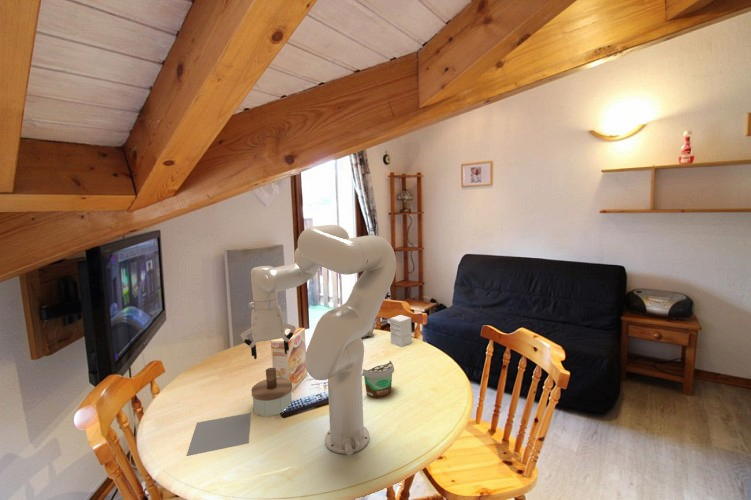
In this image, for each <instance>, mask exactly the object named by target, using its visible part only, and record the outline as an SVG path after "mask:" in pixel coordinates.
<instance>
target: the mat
mask: <svg viewBox="0 0 751 500" xmlns="http://www.w3.org/2000/svg"><path fill="white" fill-rule="evenodd" d="M251 416H252V413H251V412H247V413H242V414H237V415H231V416H226V417H220V418H215V419H209V420H204V421H199V422H196V425H195V428H194V430H193V434H192V437H191V441H190V443H189V446H188V449H187V453H186V455H185V456H186V457H189V456H193V455H198V454H203V453H208V452H213V451H218V450H219V451H220V450H224V449H227V448H228V449H229V448H232V447H238V446H242V445H247V444H249V443H250V433H251V432H250V431H251V430H250V429H251V418H252V417H251Z"/></svg>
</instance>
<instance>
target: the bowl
mask: <svg viewBox="0 0 751 500" xmlns="http://www.w3.org/2000/svg"><path fill="white" fill-rule="evenodd" d="M252 402H253V404H252V405H253V413H254V414H255V415H259V416H262V417H265V418H266V417H272V416H277V415H281V414H280V413H281V412H282V410H284V409H285V408H286V407H288V406H289V405H290V404H291V403H292V392H291V391H290V393H288V394H287V395H286V396H284V397H281V398H279V399H275V400H269V401H261V400H257V399H255V398H253V397H252ZM292 404H293V403H292Z"/></svg>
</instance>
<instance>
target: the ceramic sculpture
mask: <svg viewBox="0 0 751 500" xmlns="http://www.w3.org/2000/svg"><path fill="white" fill-rule="evenodd" d="M374 329H375V322H374V323H373V325H372V327H371V329H370V331H369V332H368V333H367V334H366V335H364V336H363V337H361V339H363V338H365V337H369V338H370V337H371V338H372V337H373V334H374Z"/></svg>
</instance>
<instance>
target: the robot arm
mask: <svg viewBox="0 0 751 500" xmlns="http://www.w3.org/2000/svg"><path fill="white" fill-rule="evenodd" d="M294 261H295V262H293V263H289V264H285V265H280V266H275V267H274V266H271V265H260V266H256V267H253V268H251V270H250V278H251V290H252V299H253V300H252V301H251V302H249V303H248V308H251V307H252V310H251V318H250V319H251V320H250V323H251V324H250V325H251V327H249V328H248V329H247V330H245V331H244V332H242V333H240V338H241V339H242V341H243V342H244V344H246V345H247V346H248V347H249V348H250V350H251V352H250V353H251V357H253V359H254V360H256V359H257V357H258V356H257V355H258V354H257V353H258V352H257V345H256V344H257V343H259V342H266V341H271V340H274V339H280V338H282V339H283V340H284V351H285V354H287V351H288V350H289V345H288V342H289V340H290V339H291V337H292V336H293V334H294V332H295V329H296V328H297V327H296V326H295V325H292V324H289V323H286V322H285V320H284V314H283V310H282V307H281V305H279V298H278V292H283V291H286V290H289V289H294V288H298V287H299V286H302V285H303V284H305V283H307V282H308V281H310V280H312V278H314V277H315V276H316V275H317V273H318V271H319V270H320V269H321V268H324V269H327V270H330V271H332V272H334V273H337V274H340V275H348V276H349V275H353V274H357V273H361V272H362V274H361V275H360V276H359V278H358V279H357V280H356V282H355V284H354V285H353V287H352V290H351V292H350V295H349V297H348V298H347V300H346V301H345V302H344V304H342V305H340V306H338V307H335V308H332V309H330V310H328V311H327V312H325V313H324V314H322V316H321V317H320V319H319V320H318V321H317V323H316V325H315V328H314V331H313V333H312V334H311V335H312V336H311V339H310V341H309V344H308V346H307V347H306V348H307V349H306V355H305V365H306V369H307V374H309V376H310V377H311V378H313V379H314V380H318V381H326V380H327V395H328V397H327V398H328V415H329V430H328V431H327V432H326V434H325V437H324V440H325V441H324V442H325V446H326V448H327V449H328V450H330V451H332V452H334V453H335V454H336V453H337V454H343V455H347V456H352V455H353V454H354V453H357V452H359V451H361V450H362V449H364V448H365V447H366V446H367V445H368V443H369V442H370V431H369V430H368V429H367V427H365V426H364V404H363V403H364V401H363V375H362V373H363V364H364V356H365V345H364V341H363V338H364V337H363V336H364V335H366V334H367V333H368V332H369V331H370V329H371V327H372V325H373V323H374V324H375V321H376V318H377V316H378V314H379V312H380V309H381V308H382V305H383V302H384V300H385V298H386V296H387V294H388V292H389V290H390V288H391V286H392V284H393V282H394V279H395V276H396V271H397V257H396V254H395V251H394V248H393V247H392V245H391V243H390V242H389V241H388V240H386V239H385V238H384V237H382V236H379V235H363V236H357V237H351V238H350V236H349V233H348V232H347V230H346V229H345V228H344V227H342V226H339V225H337V224H327V225H316V226H310V227H307V228H305V229H304V230H302V232H301V233H300V235H299V236H298V238H297V247H296V249H295V251H294ZM286 329H290V332H289V334H288V335H286V334H285V330H286ZM250 334H251V336H252V337H251V338H252V339H249V338H248V335H250ZM361 337H363V338H361Z"/></svg>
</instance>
